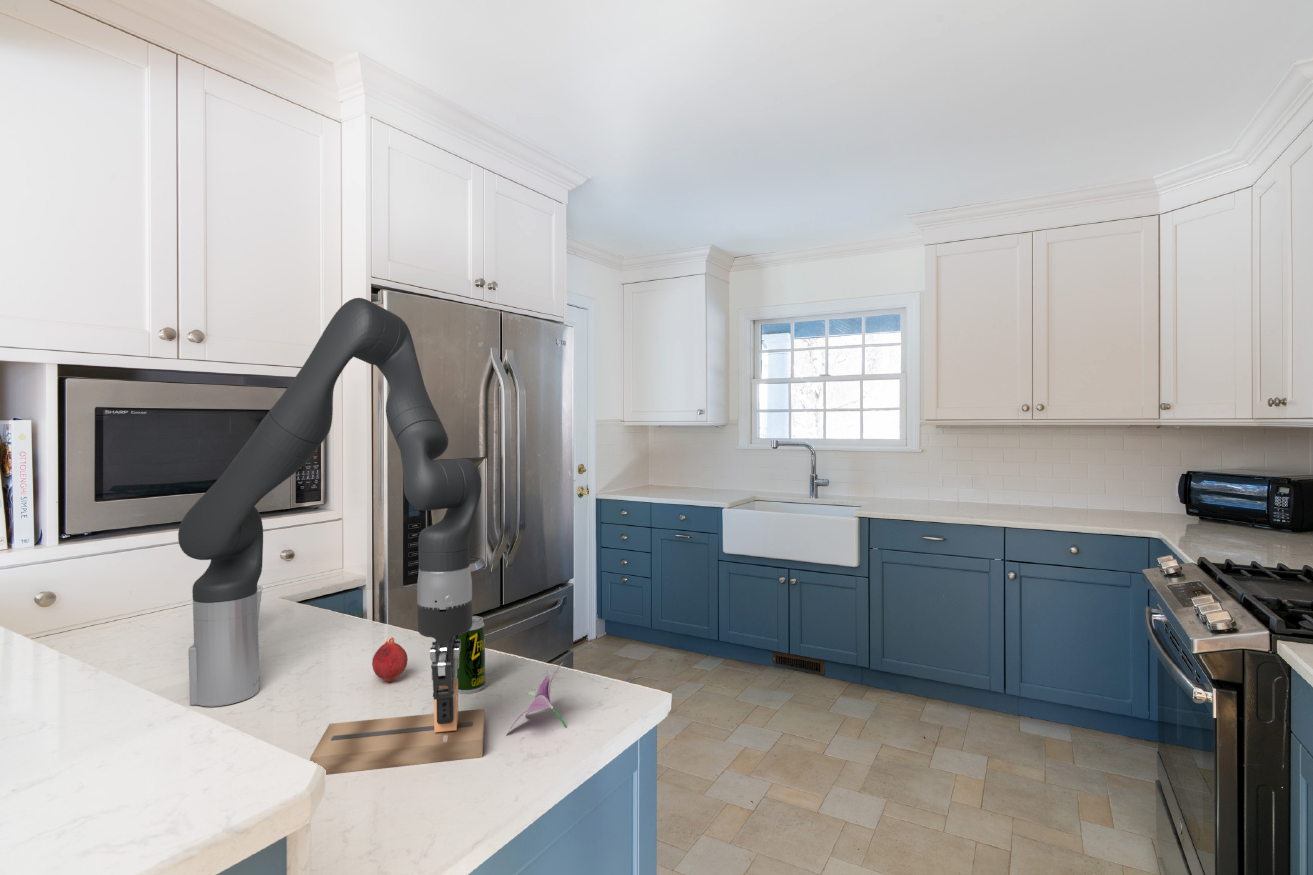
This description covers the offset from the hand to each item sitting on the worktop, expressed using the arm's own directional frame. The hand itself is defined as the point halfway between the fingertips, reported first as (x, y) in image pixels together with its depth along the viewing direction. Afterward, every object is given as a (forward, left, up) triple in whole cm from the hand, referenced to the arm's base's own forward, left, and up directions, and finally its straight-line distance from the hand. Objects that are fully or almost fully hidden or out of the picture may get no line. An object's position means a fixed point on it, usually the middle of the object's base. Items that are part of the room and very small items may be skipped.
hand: (446, 714), depth 97 cm
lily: (+13, +3, -5) cm, 14 cm away
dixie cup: (-48, +61, -4) cm, 78 cm away
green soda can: (+2, +20, -4) cm, 21 cm away
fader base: (-6, 0, -4) cm, 7 cm away
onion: (-12, +26, -4) cm, 29 cm away
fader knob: (0, 0, -1) cm, 1 cm away
